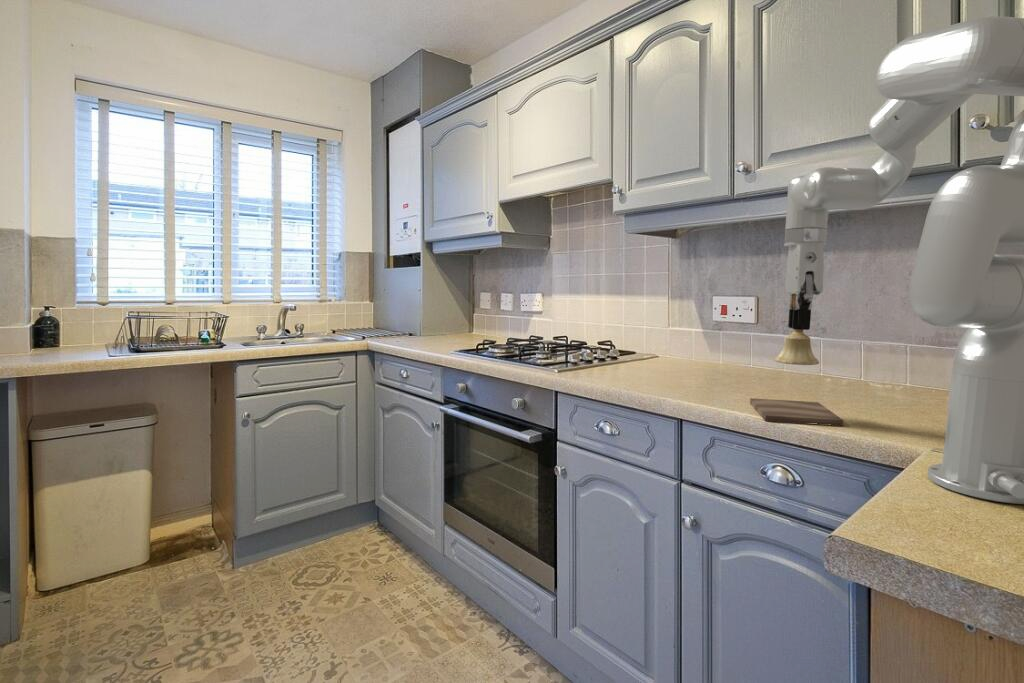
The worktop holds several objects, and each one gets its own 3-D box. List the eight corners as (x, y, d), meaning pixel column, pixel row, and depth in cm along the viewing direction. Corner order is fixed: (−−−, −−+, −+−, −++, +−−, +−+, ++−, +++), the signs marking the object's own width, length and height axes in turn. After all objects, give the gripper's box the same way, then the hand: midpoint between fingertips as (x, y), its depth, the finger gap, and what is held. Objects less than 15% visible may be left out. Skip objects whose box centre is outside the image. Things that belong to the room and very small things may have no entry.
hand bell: (808, 366, 109) (814, 285, 107) (767, 361, 115) (772, 285, 113) (825, 362, 114) (831, 285, 112) (785, 357, 120) (790, 284, 118)
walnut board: (842, 426, 106) (843, 420, 106) (765, 421, 110) (765, 415, 109) (817, 407, 122) (817, 402, 122) (750, 403, 125) (750, 398, 125)
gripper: (839, 235, 103) (831, 333, 105) (813, 241, 118) (807, 326, 120) (795, 236, 104) (788, 332, 107) (775, 241, 120) (770, 325, 122)
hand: (798, 328), depth 114 cm, fingers closed on hand bell
